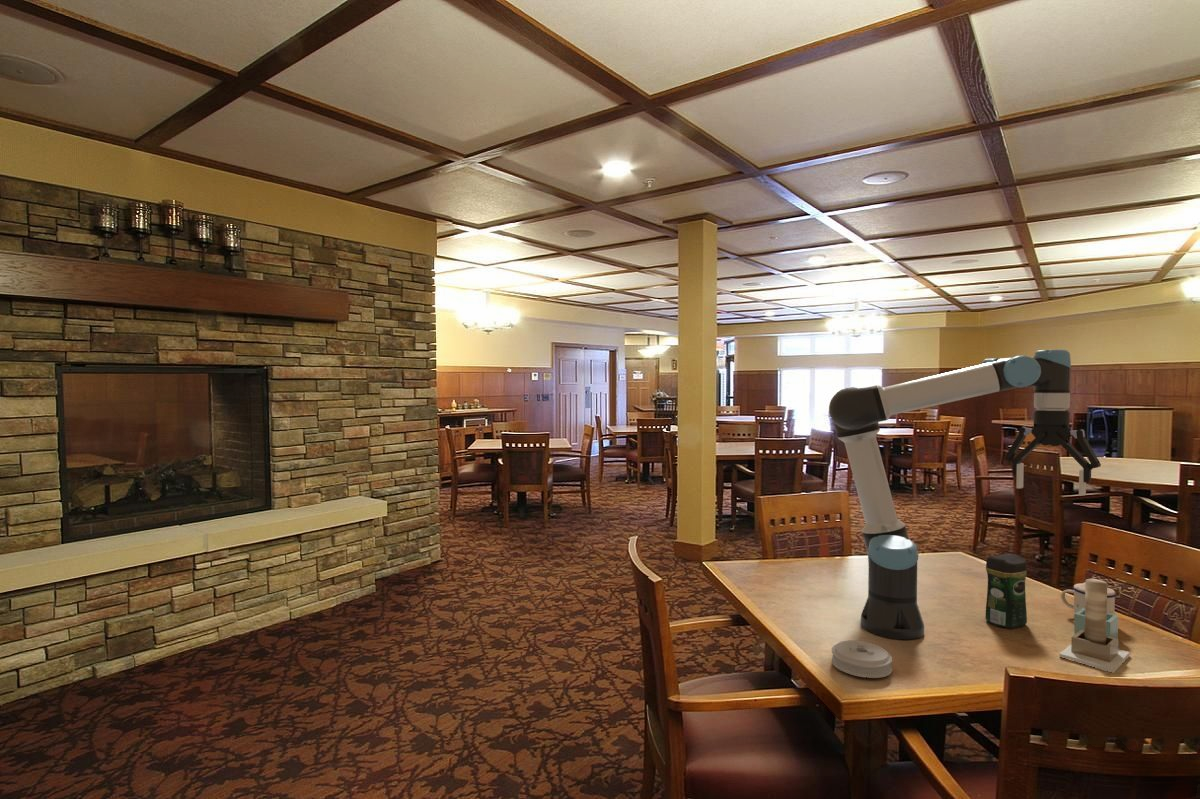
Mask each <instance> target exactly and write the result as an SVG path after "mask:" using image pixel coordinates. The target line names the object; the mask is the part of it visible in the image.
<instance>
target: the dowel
mask: <svg viewBox="0 0 1200 799" xmlns="http://www.w3.org/2000/svg"><path fill="white" fill-rule="evenodd" d="M1096 579H1097V578H1086V579H1085V582H1086V585H1085V633H1084V639H1085V640H1089V641H1092V642H1096V643H1100V644H1104V645H1106V622H1107V587H1108V582H1107V581H1104V580H1101V579H1097V580H1096Z"/></svg>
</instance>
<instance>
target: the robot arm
mask: <svg viewBox="0 0 1200 799" xmlns="http://www.w3.org/2000/svg"><path fill="white" fill-rule="evenodd" d="M1071 364H1072V363H1071V353H1070V351H1069V350H1066V349H1041V350H1039V349H1038V350H1036V351H1035V352H1034V356H1033V357H1031V356H1027V355H1025V354H1024V355H1021V354H1020V355H1019V354H1017V355H1014V356H1010V357H1001V358H1000V357H994V358H992V357H991V358H985V359H983V360H982V361H981V364H978V365H974V366H970V367H965V368H961V369H957V370H952V371H948V372H943V373H940V374H936V375H930V376H927V377H921V378H917V379H915V380H914V379H913V380H910V381H906V382H902V383H901V382H900V383H897V384H893V385H888V386H885V387H883V386H881V385H879V384H876V385H873V386H868V387H867V386H866V387H854V386H852V387H845V388H843V389H840V390H839V391H837V392H836V393H835V394H833V397H832V398H831V400H830V402H829V405H828V412H829V415H830V419H831V420H832V422H833V426H834V430H835V434H836V437H837V438H836V439H838V440H839V441H841V442H843V444H844V447H845V449H846V450H845V451H846V454H847V458H848V461H849V466H850V470H851V472H852V477H853V481H854V484H855V489H856V493H857V496H858V500H859V503H860V508H861V512H862V515H863V520H864V523H865V524H864V526H863V527H862V528H861V533H862V537H863V540H864V541H863V542H864V546H865V549H866V553H867V561H868V562H867V564H868V579H867V581H868V584H867V586H868V588H867V589H868V590H867V592H868V593H867V599H866V601H865V604H864V607H863V609H862V612H861V614H860V625H861V627H862V628H863V629H864V630H865V631H867V632H869V633H871V634H874V635H876V636H880V637H884V638H887V639H893V640H903V639H904V641H905V640H907V639H909V640H917V639H919V638H922V637H923V636H924V634H925V623H924V620H923V617H922V614H921V610H920V608H919V605H918V560H919V552H918V547H917V545H916V543H915V542H914V541H912V540H911V539H910V538H909V534H908V530H907V527H906V523H905V522H903V521H902V520H900V519H899V518H898V515H897V511H896V508H895V502H894V500H893V496H892V493H891V489H890V486H889V481H888V477H887V474H886V469H885V466H884V463H883V459H882V454H881V451H880V447H879V442H878V440H877V435H878V433H879V432H880V430H881V429H880V424H879V423H881V422H885V421H889V419H890V417H891V416H895V415H899V414H902V413H906V412H913V411H916V410H921V409H925V408H930V407H934V406H938V405H944V404H949V403H953V402H957V401H961V400H966V399H970V398H975V397H980V396H984V395H989V394H993V393H997V392H1004V391H1007V390H1013V389H1017V388H1027V387H1033V388H1034V389H1033V392H1034V394H1033V407H1034V408H1035V410H1034V411H1033V426H1032V427H1026V426H1021V427H1019V428H1018V434H1017V437H1016V438H1015V440H1014V441H1013V443H1012V444H1011V446H1010V448H1009V449H1008V451H1007V453H1006V454H1005V456H1004V460H1005V461H1009V462H1010V463H1012V475H1013V476H1016V481H1015V482H1016V485H1015V486H1016V487H1015V489H1019V490H1020V489H1023V488H1024V473H1025V472H1024V466H1025V464H1024V463H1023V462H1022V461H1023V460H1024V459H1025V458H1026V457H1027V456H1029V454H1031V453H1032V452H1033V451H1034V450H1035V449H1036V448H1037V447H1038V446H1040V445H1042V446H1052V447H1058V446H1059V447H1060V446H1061V447H1062V448H1063V449H1064V450H1065V451H1067V453H1069V455H1070V456H1071V457H1072V458H1073V459H1074V460H1075V461H1076V463H1078V464H1079V465H1080V467H1082V468H1080V469H1078V471H1079V472H1078V478H1079V479H1078V496H1080V497H1081V496H1086V495H1087V484H1089V483H1090V482H1091V481H1092V470H1093V469H1096V468H1097V469H1098V468H1100V467H1101V466H1102V464H1101V462H1100V461H1099V458H1098V457H1097V455H1096V454H1095V452H1094V450H1093V448H1092V446H1091V444H1090V443H1089V441H1088V439H1087V438H1086V430H1085V429H1084V428H1083V429H1078V430H1076V429H1075V430H1072V429H1071V428H1070V422H1071V420H1070V417H1071V416H1070V414H1071V412H1070V411H1069V410H1068V409H1070V406H1071V390H1070V389H1071V372H1072V371H1071V370H1072V365H1071ZM1030 434H1032V436H1033V437H1034V438H1033V439H1032V440H1031V442H1029V443H1028V445H1027V446H1026V447H1024V449H1022V451H1020V452H1019V453H1018V451H1019V449H1020V448H1021V446H1022V445H1023V443H1024V441H1025V440H1026V438H1027V436H1029V435H1030ZM1071 436H1073V438H1074V439H1076V440H1077V442H1078V443H1079V446H1080V447H1081V448H1082V451H1083V453H1084V455H1085V456H1086V458H1087V459H1088V460H1087V459H1086V458H1085V457H1084V456H1083V455H1082V454H1081V452H1080V451H1078V449H1076V447H1074V446H1073V444H1072V443H1071V441H1070V440H1069V438H1070V437H1071ZM1017 453H1018V454H1017Z"/></svg>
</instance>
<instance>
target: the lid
mask: <svg viewBox="0 0 1200 799" xmlns="http://www.w3.org/2000/svg"><path fill="white" fill-rule="evenodd" d="M831 654H832V657H831V660H830V661H831V664H832V665H833V666H834V667H835V668H836V669H838V670H839V671H841V672H843V673H846V674H849V675H852V676H855V677H860V678H866V677H867V679H868V678H869V679H880V678H885V677H887V676H890V675H891V674H892V672H893V667H892V665H891V664H892V662H893V657H892V655H891V654H890V653H889V652H888V651H887V650H886V649H884V648H883V647H881V646H880V645H877V644H874V643H871V642H868V641H863V640H853V639H852V640H851V639H850V640H849V639H848V640H842V641H839V642H838V643H836V644H834V645H832V647H831Z"/></svg>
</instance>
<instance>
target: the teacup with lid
mask: <svg viewBox="0 0 1200 799" xmlns="http://www.w3.org/2000/svg"><path fill="white" fill-rule="evenodd" d="M1095 579H1096V580H1098V579H1097V578H1095ZM1085 585H1086V581H1085V582H1083V583H1076V584H1075V583H1074V585H1073V587H1072V589H1064V590H1063V591H1061V593H1060V598H1061V601H1062V603H1063V604H1064V606H1066V607H1067V608H1069V609H1073V619H1074V618H1075V613H1077V612H1078V611H1079V610H1081V609H1082V608H1085ZM1066 593H1069V594H1070V593H1071V594H1073V605H1072V604H1071V603H1069V602H1068V600H1067V599H1066ZM1116 596H1117V593H1116V591H1115V590H1113V589H1112V588H1110V587H1108V586H1107V613H1109V614H1114V615H1115V605H1116V604H1115V603H1116V601H1115V600H1116Z"/></svg>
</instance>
